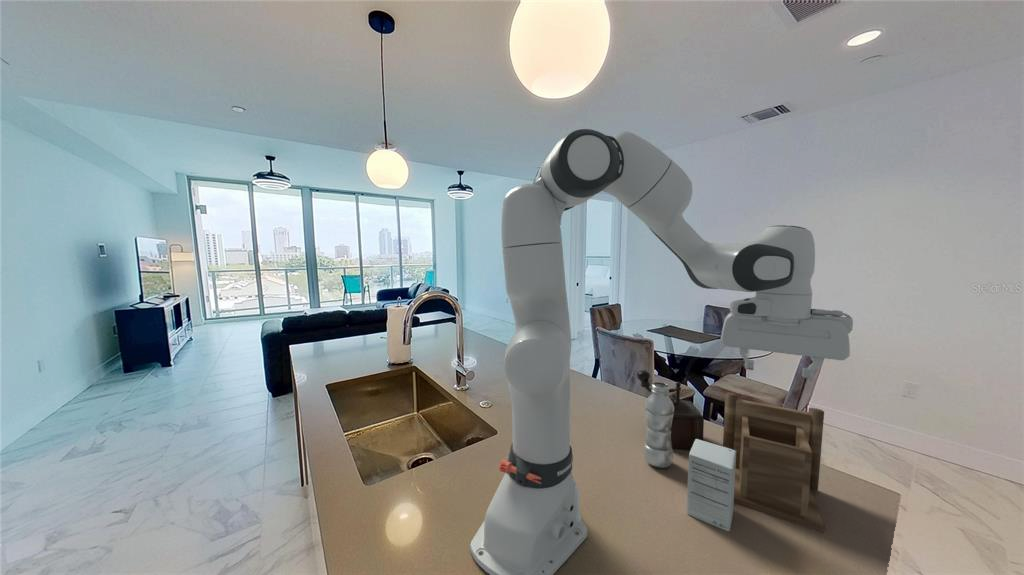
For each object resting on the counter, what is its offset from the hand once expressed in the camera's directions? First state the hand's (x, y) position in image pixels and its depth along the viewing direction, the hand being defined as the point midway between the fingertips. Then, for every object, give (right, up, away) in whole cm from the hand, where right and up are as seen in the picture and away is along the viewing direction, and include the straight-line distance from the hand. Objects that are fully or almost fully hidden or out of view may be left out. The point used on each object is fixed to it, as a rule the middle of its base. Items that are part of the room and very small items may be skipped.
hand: (777, 373), depth 68 cm
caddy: (0, -27, +2) cm, 27 cm away
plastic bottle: (-19, -26, +13) cm, 35 cm away
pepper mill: (-11, -25, +25) cm, 37 cm away
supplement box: (-15, -27, -2) cm, 31 cm away
